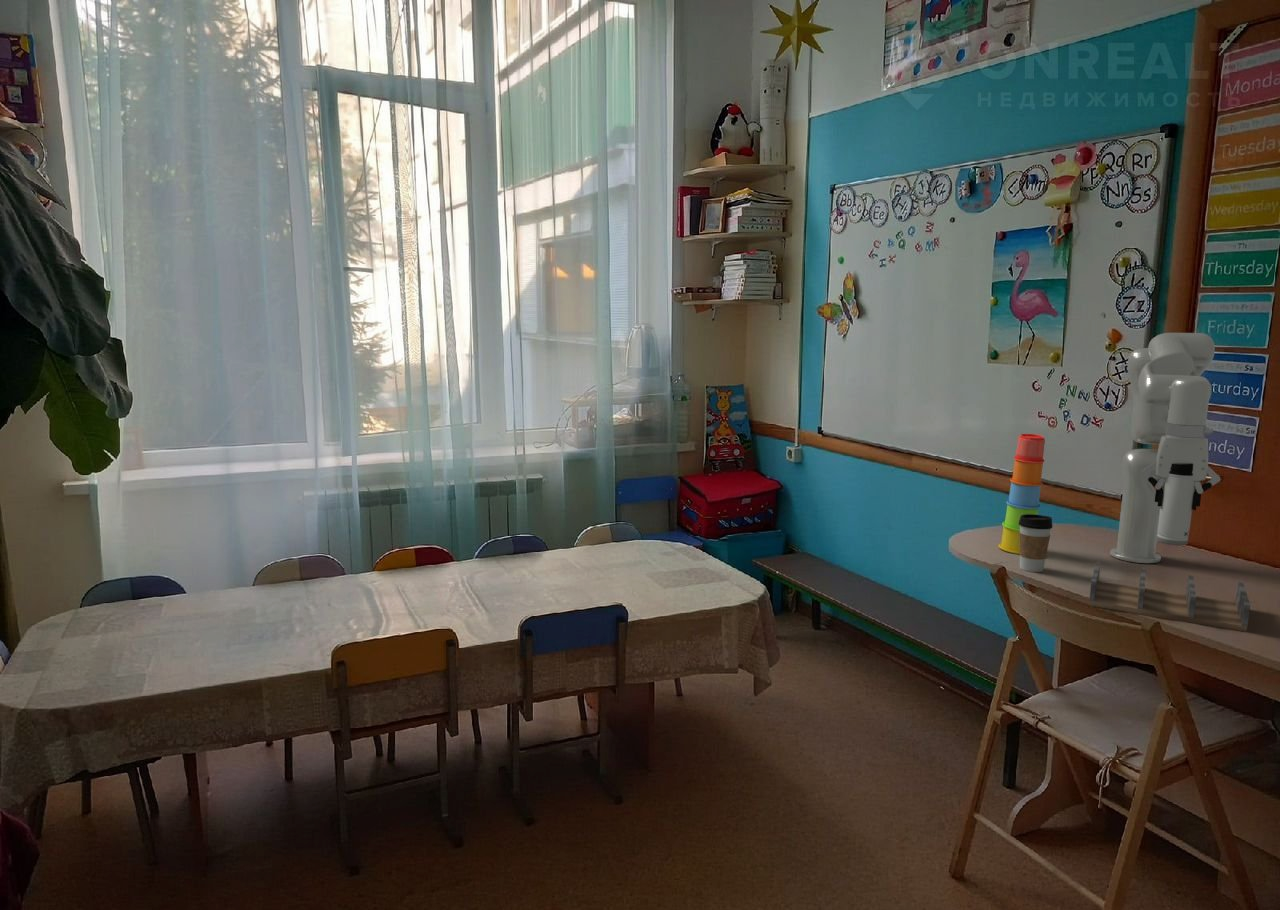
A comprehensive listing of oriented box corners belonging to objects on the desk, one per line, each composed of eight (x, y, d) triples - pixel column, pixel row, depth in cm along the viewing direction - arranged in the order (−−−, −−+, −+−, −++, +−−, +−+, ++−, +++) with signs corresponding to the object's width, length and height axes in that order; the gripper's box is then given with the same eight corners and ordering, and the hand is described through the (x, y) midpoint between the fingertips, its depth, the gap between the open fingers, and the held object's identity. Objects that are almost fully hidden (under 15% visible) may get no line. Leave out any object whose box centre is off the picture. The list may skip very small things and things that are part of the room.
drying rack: (1093, 584, 216) (1096, 561, 215) (1239, 607, 200) (1243, 582, 199) (1088, 605, 201) (1091, 580, 200) (1246, 631, 185) (1250, 605, 184)
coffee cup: (1036, 575, 223) (1041, 521, 221) (1008, 567, 230) (1012, 514, 228) (1054, 570, 228) (1060, 517, 225) (1026, 562, 235) (1031, 510, 232)
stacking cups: (1030, 545, 251) (1040, 432, 245) (1040, 555, 241) (1051, 437, 235) (994, 544, 253) (1004, 431, 247) (1003, 553, 243) (1012, 436, 237)
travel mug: (1193, 546, 194) (1205, 462, 190) (1162, 544, 195) (1173, 460, 191) (1182, 539, 200) (1193, 457, 196) (1152, 537, 201) (1162, 456, 197)
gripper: (1229, 432, 192) (1219, 509, 195) (1142, 427, 201) (1134, 499, 204) (1232, 436, 185) (1221, 515, 188) (1141, 430, 194) (1133, 505, 197)
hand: (1176, 506), depth 196 cm, fingers closed on travel mug, 6 cm apart
